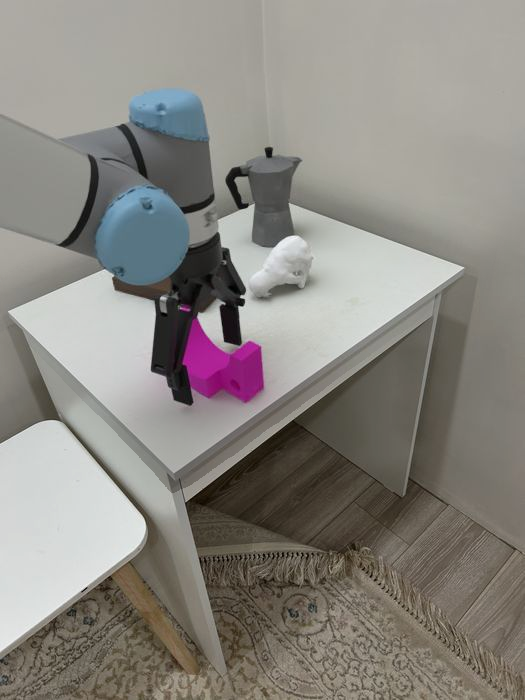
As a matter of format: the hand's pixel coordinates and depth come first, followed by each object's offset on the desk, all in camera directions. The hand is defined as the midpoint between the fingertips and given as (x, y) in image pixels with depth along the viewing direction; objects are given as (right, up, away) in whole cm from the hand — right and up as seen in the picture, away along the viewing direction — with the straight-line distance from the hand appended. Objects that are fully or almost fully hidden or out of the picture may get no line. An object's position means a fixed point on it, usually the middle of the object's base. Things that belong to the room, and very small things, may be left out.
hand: (209, 370), depth 77 cm
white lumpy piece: (+10, +14, +18) cm, 25 cm away
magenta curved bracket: (0, -1, +1) cm, 2 cm away
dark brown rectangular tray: (-9, +14, +21) cm, 26 cm away
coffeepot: (+9, +25, +33) cm, 42 cm away
